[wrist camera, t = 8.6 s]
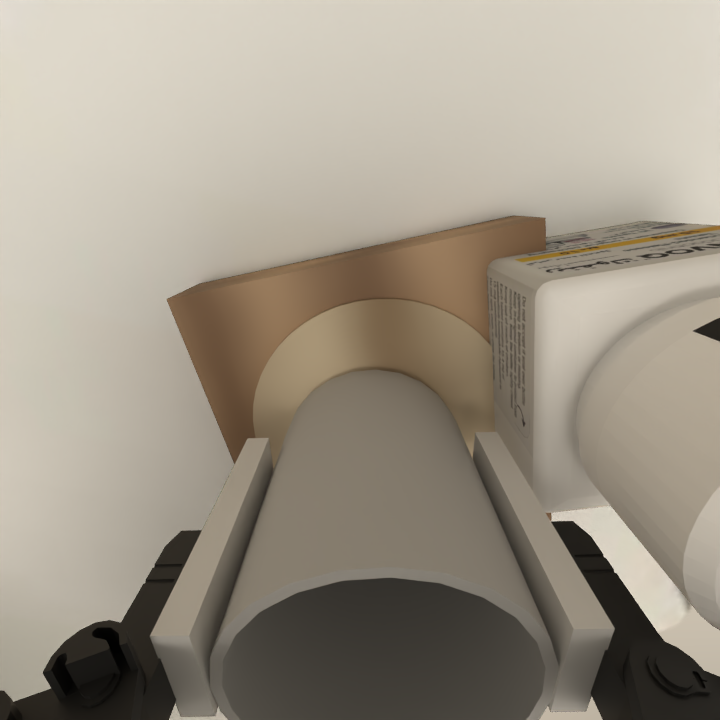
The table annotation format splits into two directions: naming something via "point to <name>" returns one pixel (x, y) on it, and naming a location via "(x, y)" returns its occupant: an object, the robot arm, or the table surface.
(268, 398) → the pedestal
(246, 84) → the table surface
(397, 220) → the table surface
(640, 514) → the container
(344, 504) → the cup
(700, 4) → the table surface
